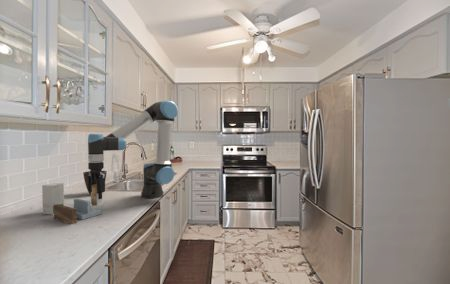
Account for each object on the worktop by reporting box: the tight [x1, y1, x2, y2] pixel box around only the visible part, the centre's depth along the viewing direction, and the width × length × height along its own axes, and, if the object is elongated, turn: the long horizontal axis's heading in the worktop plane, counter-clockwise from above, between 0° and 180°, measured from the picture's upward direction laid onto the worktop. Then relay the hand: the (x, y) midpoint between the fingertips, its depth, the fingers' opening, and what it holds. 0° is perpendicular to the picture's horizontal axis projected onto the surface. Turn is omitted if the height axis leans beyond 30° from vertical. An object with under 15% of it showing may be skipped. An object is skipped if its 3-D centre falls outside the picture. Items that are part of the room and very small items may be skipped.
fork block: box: [73, 198, 102, 220], centre depth 135 cm, size 10×12×8 cm
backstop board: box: [53, 204, 77, 225], centre depth 126 cm, size 2×16×7 cm, turn 61°
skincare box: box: [41, 182, 65, 215], centre depth 140 cm, size 8×7×16 cm
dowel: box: [91, 184, 98, 207], centre depth 141 cm, size 4×4×11 cm
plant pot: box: [82, 170, 108, 196], centre depth 182 cm, size 15×15×16 cm
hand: (96, 204), depth 141 cm, fingers closed on dowel, 4 cm apart
